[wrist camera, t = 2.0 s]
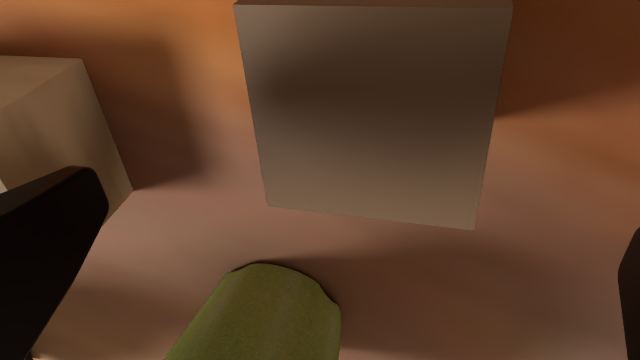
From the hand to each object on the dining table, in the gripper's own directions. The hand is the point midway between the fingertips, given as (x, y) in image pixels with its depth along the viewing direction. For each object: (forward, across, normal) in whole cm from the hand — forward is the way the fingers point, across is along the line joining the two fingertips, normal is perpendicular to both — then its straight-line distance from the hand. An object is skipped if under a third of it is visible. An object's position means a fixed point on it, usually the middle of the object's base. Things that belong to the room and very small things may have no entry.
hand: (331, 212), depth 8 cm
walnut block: (+8, 0, 0) cm, 8 cm away
